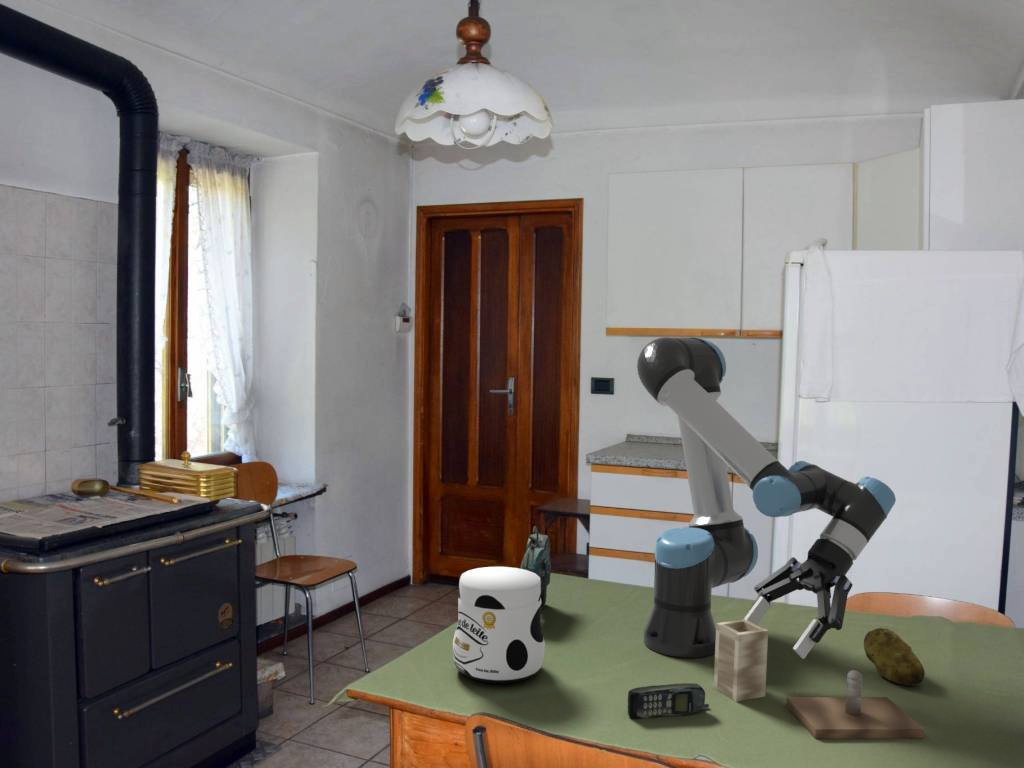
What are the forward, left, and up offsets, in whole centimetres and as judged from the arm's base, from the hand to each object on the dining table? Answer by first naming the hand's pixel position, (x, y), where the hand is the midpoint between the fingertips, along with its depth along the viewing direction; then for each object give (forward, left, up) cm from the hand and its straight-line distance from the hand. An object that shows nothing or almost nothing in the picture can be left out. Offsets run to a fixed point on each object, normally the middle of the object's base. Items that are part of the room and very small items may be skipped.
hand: (770, 640), depth 153 cm
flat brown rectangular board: (+14, -6, -10) cm, 18 cm away
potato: (+21, +18, -10) cm, 29 cm away
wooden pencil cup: (-5, -2, -10) cm, 11 cm away
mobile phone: (-15, -16, -10) cm, 24 cm away
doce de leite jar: (-48, -12, -10) cm, 50 cm away
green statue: (-53, +21, -10) cm, 57 cm away
